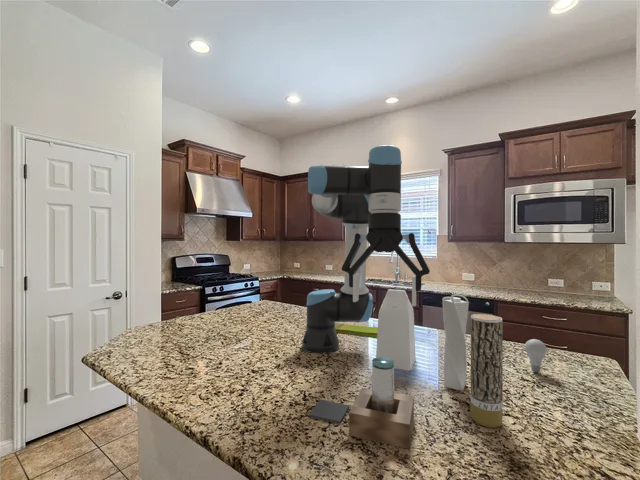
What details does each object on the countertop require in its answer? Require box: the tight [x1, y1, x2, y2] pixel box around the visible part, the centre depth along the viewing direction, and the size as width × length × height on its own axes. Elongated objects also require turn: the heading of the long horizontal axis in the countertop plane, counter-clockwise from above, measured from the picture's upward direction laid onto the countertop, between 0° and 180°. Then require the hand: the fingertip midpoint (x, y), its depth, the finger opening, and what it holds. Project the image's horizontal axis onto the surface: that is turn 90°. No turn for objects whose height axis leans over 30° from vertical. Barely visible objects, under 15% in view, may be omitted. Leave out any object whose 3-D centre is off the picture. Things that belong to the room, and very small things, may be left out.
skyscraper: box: [442, 293, 470, 392], centre depth 95 cm, size 8×8×28 cm
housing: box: [348, 387, 415, 450], centre depth 73 cm, size 13×13×5 cm
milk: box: [375, 289, 417, 372], centre depth 113 cm, size 12×12×26 cm
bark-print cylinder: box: [470, 313, 504, 429], centre depth 76 cm, size 7×7×25 cm
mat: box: [308, 399, 350, 425], centre depth 79 cm, size 8×8×1 cm
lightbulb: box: [524, 338, 548, 373], centre depth 105 cm, size 6×6×11 cm
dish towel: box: [335, 322, 378, 339], centre depth 155 cm, size 15×36×3 cm, turn 67°
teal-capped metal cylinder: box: [371, 357, 395, 414], centre depth 73 cm, size 5×5×15 cm
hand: (384, 303), depth 74 cm, fingers open, 13 cm apart
